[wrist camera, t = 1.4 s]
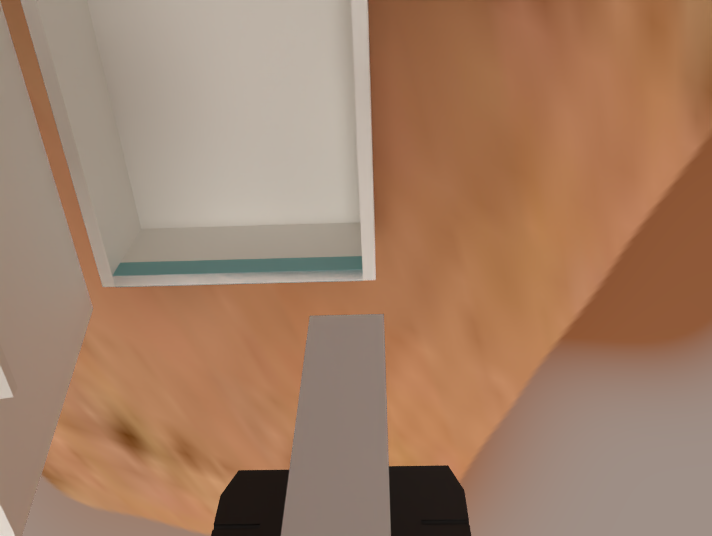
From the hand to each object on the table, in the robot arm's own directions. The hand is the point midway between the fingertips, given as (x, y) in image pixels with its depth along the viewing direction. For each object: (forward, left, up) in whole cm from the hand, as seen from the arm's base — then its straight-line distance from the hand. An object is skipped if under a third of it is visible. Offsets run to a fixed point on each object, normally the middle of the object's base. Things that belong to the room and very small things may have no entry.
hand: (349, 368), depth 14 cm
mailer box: (0, -6, -21) cm, 22 cm away
